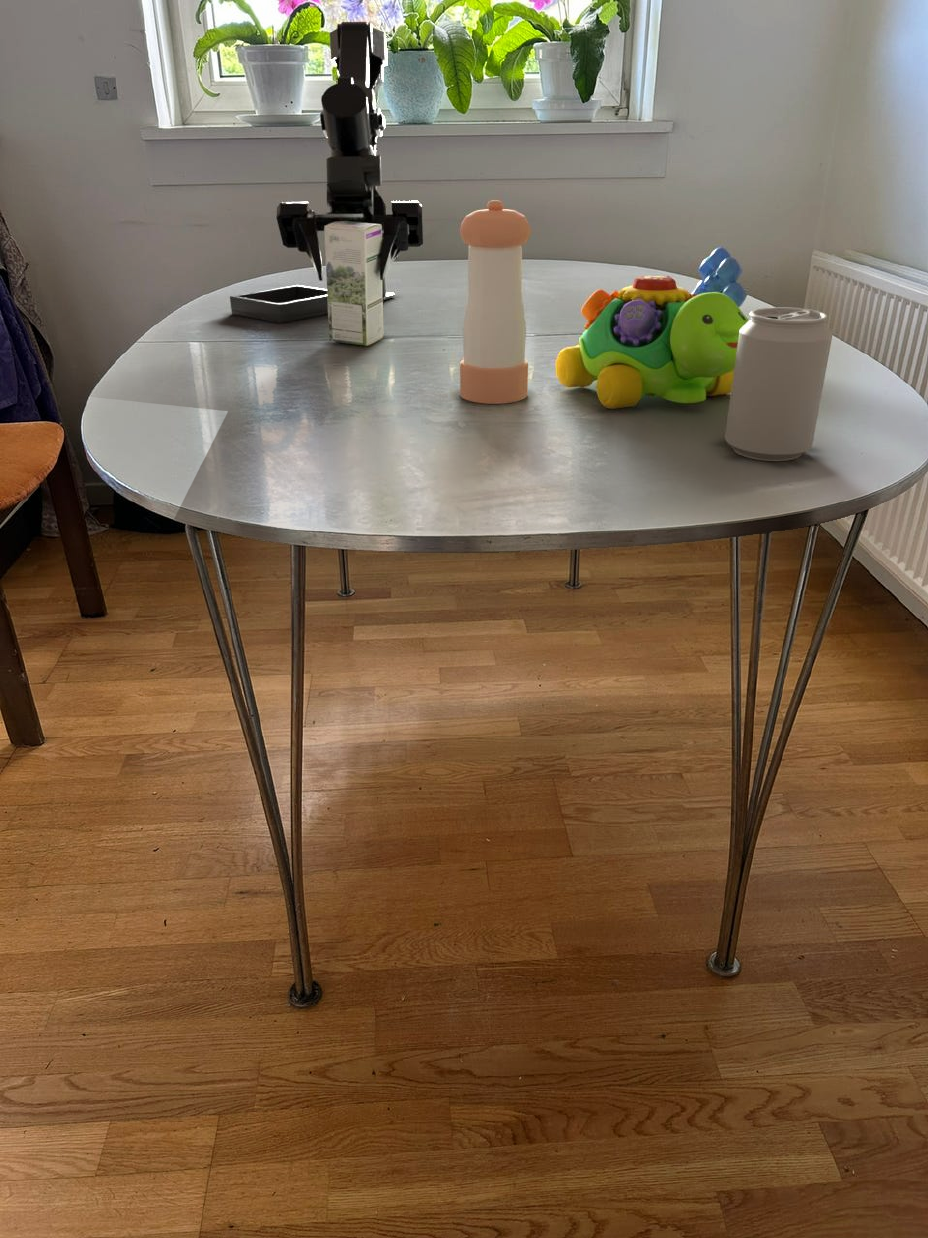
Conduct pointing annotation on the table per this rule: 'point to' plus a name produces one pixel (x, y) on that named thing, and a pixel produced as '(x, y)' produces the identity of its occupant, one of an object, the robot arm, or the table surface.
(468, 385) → the pepper shaker
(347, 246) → the syrup box
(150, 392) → the table surface
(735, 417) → the can
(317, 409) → the table surface
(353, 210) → the robot arm
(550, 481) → the table surface
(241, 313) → the baking tray
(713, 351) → the turtle toy
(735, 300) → the grapes
